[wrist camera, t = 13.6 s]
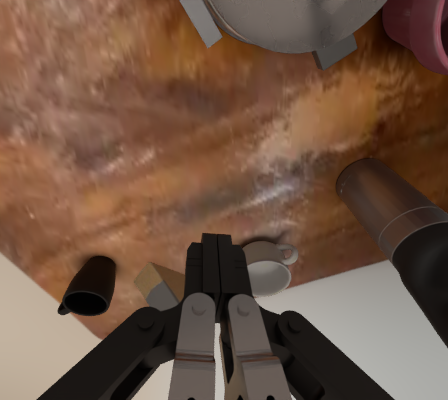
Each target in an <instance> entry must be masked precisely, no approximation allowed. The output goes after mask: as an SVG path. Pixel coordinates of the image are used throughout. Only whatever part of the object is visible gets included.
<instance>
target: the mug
mask: <svg viewBox="0 0 448 400" xmlns="http://www.w3.org/2000/svg"><path fill="white" fill-rule="evenodd" d="M114 287H115V263H114V262H113V261H112V260H111V259H110V258H108V257H104V256H95V257H92V258H91V259H90V260H89V261H88V262H87V263H86V264H85V265H84V266H83V267H82V268H81V269H80V271H79V272H78V273H77V274H76V276H75V277H74V278H73V280H72V281H71V283H70V284H69V286H68V288H67V290H66V292H65V294H64V296H63V299H62V303H61V304H60V306H59V308H58V313H59V314H60V315H65V314H68V313H70V312H73V313H75V314H78V315H83V316H96V315H100V314H103V313H104V312H106V311H107V310H108V308H109V306H110V303H111V300H112V296H113V293H114Z"/></svg>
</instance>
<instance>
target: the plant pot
mask: <svg viewBox="0 0 448 400" xmlns="http://www.w3.org/2000/svg"><path fill="white" fill-rule="evenodd" d="M382 21H383V26H384V29H385V31H386V33H387V35H388V36H389V37H390V38H391V39H392V40H394V41H396V42H398V43H400V44H401V45H403V46H404V47H406V48H408V49H409V50H411V51H413V53H414V55H415V57H416V58H417V60H418V61H419V62H420V63H421V64H422V65H423V66H424V67H425V68H427V69H429V70H431V71H433V72H436V73H440V74H444V75H448V0H387V1H386V3H385V4H384V5H383V11H382Z"/></svg>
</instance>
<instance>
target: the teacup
mask: <svg viewBox="0 0 448 400" xmlns="http://www.w3.org/2000/svg"><path fill="white" fill-rule="evenodd" d="M242 249H243V251H244V252H245V256H246V263H247V267H248V272H249V278H250V283H251V289H252V294H253V296H257V297H265V296H272V295H275V294H277V293H279V292H281V291H283V290H284V289H285V288H286V287H287V286H288V285H289V283H290V281H291V273H290V271H289V269H288V265H289V264H292V263H294V262H295V261H296V260H297V258H298V250H297V249H296V247H294V246H293V245H291V244H281V245H280V244H276V245H275V244H273V243H270V242H267V241H257V242H253V243H250V244H248V245H246V246H245V247H243V248H242ZM287 249H288V250H291V251H292V253H291V255H290V257H289V258H285V256H284V254H283V252H282V251H283V250H287Z"/></svg>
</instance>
